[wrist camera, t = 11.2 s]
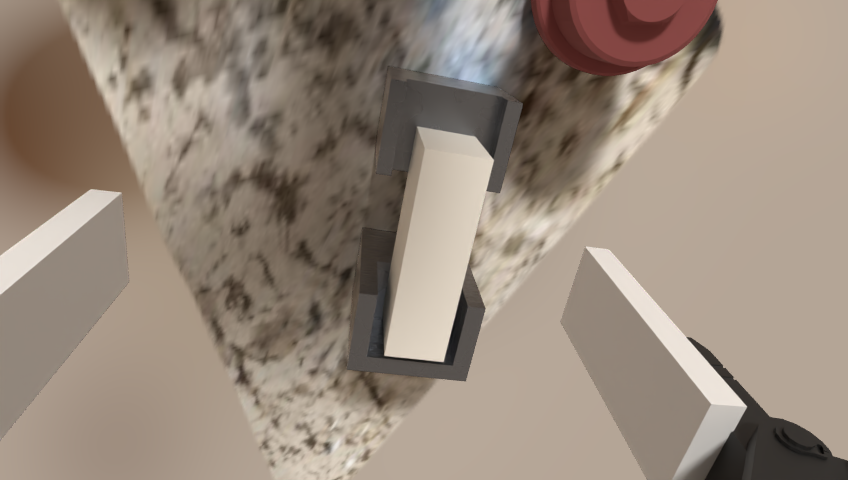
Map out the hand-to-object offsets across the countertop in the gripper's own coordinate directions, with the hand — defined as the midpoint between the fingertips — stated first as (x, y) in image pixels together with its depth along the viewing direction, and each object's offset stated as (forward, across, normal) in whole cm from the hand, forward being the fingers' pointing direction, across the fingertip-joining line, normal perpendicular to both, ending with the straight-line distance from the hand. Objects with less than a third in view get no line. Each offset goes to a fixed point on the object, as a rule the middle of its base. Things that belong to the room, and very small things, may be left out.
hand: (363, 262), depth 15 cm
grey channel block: (+27, +5, -1) cm, 27 cm away
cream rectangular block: (+20, +5, -8) cm, 22 cm away
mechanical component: (+27, +14, +9) cm, 32 cm away
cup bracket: (+26, +5, -14) cm, 30 cm away
